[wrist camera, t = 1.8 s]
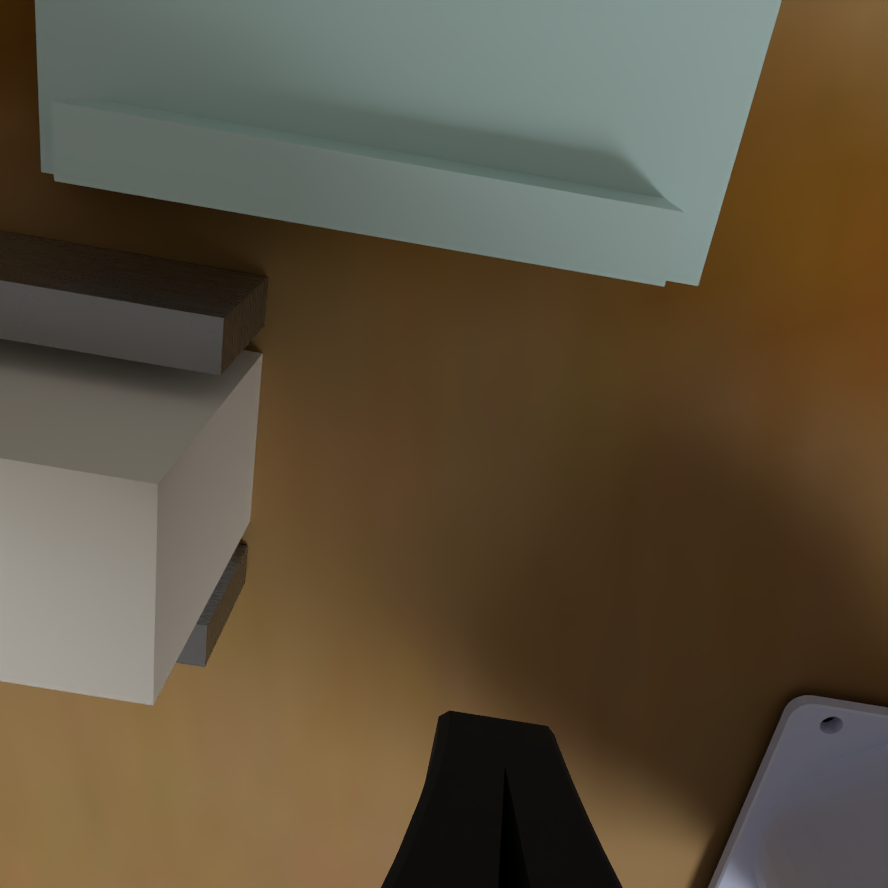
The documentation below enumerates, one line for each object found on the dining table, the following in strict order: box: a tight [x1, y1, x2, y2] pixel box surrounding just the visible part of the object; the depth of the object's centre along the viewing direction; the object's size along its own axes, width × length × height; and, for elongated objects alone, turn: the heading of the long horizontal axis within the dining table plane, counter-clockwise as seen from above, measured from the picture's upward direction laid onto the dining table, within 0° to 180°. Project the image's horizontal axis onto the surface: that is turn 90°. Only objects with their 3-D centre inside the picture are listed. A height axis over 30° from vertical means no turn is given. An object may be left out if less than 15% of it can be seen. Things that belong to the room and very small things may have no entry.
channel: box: [0, 231, 268, 667], centre depth 16 cm, size 6×7×3 cm
